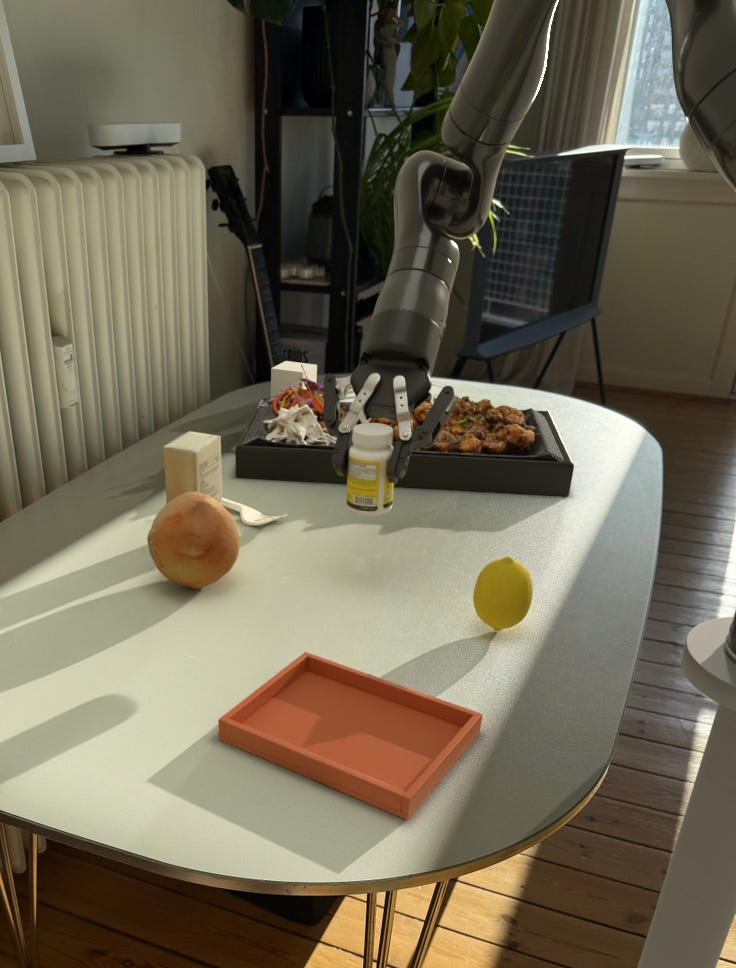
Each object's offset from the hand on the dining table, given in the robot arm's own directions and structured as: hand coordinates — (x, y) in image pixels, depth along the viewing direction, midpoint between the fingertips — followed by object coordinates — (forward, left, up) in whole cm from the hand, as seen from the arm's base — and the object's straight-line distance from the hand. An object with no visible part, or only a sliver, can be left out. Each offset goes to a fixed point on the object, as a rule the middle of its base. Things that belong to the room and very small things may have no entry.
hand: (365, 475), depth 93 cm
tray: (-12, +23, -13) cm, 29 cm away
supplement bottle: (0, -2, -4) cm, 5 cm away
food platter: (+17, -42, -13) cm, 47 cm away
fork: (+26, -11, -13) cm, 31 cm away
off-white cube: (+46, -58, -13) cm, 75 cm away
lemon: (-15, -1, -13) cm, 20 cm away
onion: (+16, +8, -13) cm, 22 cm away
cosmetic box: (+23, -1, -13) cm, 26 cm away
